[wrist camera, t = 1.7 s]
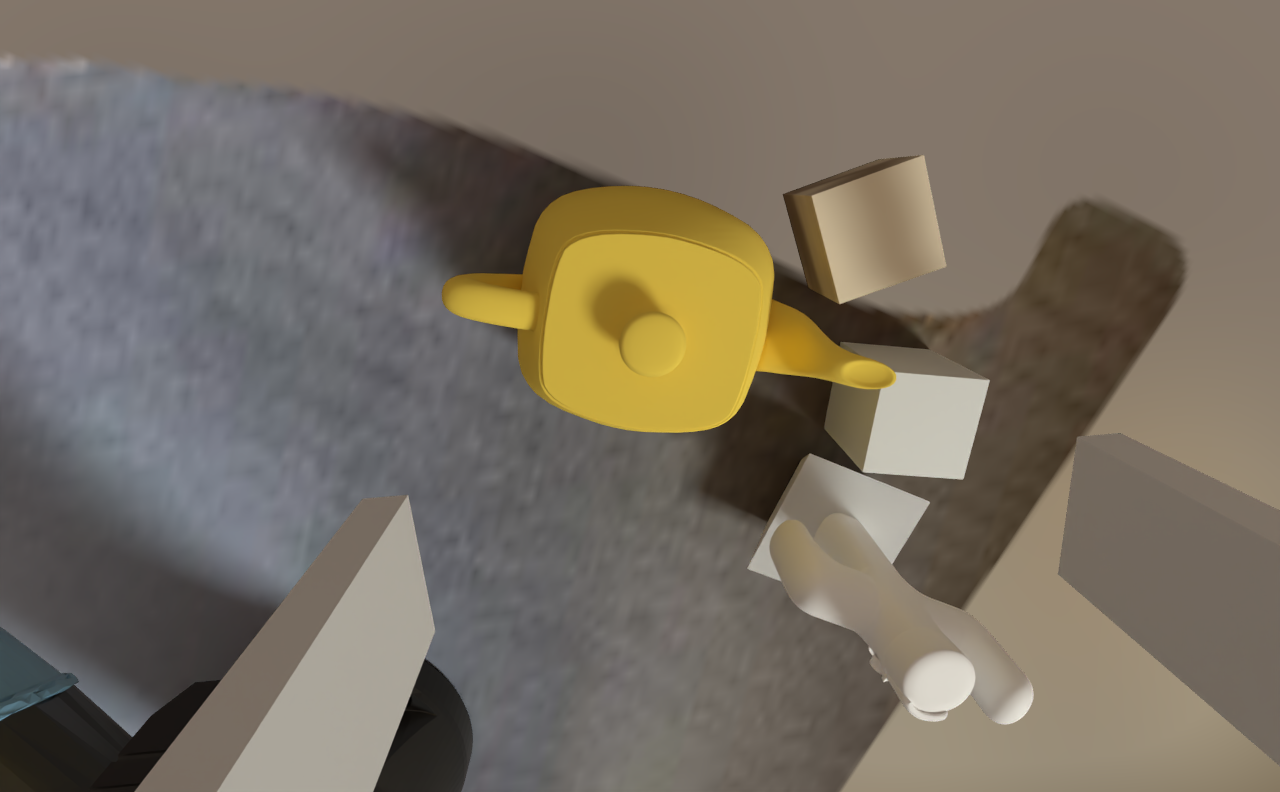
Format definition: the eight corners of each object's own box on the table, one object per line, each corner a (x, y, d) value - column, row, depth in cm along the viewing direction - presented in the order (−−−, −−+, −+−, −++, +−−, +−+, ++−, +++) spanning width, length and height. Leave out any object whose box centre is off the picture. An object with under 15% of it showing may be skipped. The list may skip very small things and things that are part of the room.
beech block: (808, 287, 35) (839, 304, 30) (782, 194, 33) (811, 195, 29) (900, 255, 34) (946, 266, 30) (878, 159, 33) (923, 154, 28)
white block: (823, 427, 37) (862, 472, 32) (840, 341, 36) (884, 371, 30) (909, 434, 38) (963, 479, 32) (929, 349, 36) (989, 380, 30)
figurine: (773, 420, 37) (878, 570, 23) (917, 479, 38) (1099, 654, 24) (717, 528, 39) (781, 728, 24) (856, 579, 40) (992, 797, 26)
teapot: (844, 224, 34) (947, 242, 24) (791, 424, 37) (861, 516, 27) (491, 156, 32) (436, 143, 22) (467, 372, 35) (410, 449, 25)
